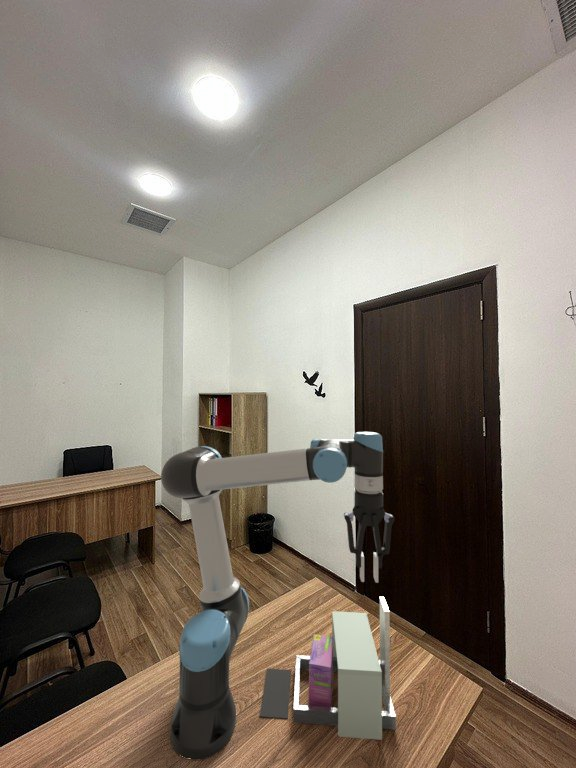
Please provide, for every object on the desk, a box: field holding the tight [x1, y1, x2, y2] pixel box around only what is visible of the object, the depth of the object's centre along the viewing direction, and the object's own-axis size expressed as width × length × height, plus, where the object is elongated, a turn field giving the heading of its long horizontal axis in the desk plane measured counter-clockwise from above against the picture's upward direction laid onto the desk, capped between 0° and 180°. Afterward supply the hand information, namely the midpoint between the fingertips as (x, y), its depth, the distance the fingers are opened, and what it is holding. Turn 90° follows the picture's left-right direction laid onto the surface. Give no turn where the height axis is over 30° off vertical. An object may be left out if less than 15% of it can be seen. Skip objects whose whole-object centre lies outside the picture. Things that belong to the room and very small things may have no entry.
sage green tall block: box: [331, 610, 383, 741], centre depth 85 cm, size 10×20×15 cm, turn 176°
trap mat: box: [259, 667, 292, 720], centre depth 86 cm, size 7×14×1 cm, turn 176°
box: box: [308, 634, 334, 707], centre depth 85 cm, size 10×6×12 cm, turn 168°
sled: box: [292, 596, 397, 731], centre depth 85 cm, size 24×16×24 cm
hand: (368, 579), depth 86 cm, fingers open, 3 cm apart
